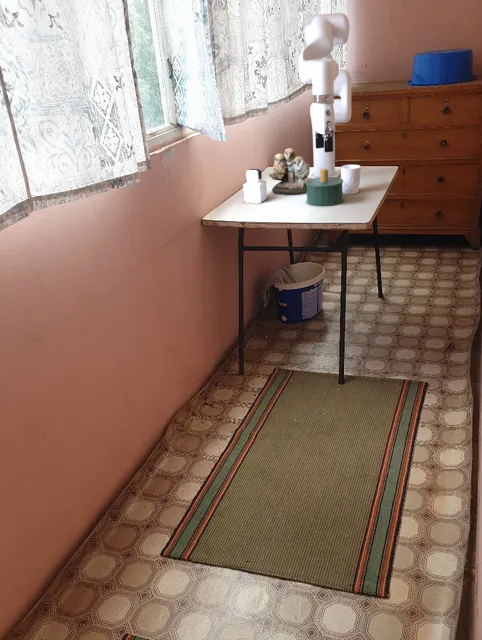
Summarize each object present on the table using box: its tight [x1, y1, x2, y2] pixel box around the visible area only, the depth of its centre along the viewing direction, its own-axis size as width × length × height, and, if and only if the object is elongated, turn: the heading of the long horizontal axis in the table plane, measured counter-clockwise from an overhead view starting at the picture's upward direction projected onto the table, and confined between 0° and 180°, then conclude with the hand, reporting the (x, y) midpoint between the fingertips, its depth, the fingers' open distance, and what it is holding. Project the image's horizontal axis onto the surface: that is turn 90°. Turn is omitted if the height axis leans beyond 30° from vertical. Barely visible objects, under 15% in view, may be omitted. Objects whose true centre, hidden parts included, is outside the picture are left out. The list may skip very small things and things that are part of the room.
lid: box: [305, 169, 344, 188], centre depth 231 cm, size 15×15×6 cm
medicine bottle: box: [242, 168, 268, 204], centre depth 241 cm, size 7×7×12 cm
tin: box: [306, 184, 344, 207], centre depth 234 cm, size 14×14×7 cm
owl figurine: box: [268, 147, 311, 196], centre depth 249 cm, size 18×12×17 cm, turn 77°
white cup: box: [340, 164, 362, 195], centre depth 243 cm, size 8×8×10 cm
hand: (324, 149), depth 226 cm, fingers open, 9 cm apart
